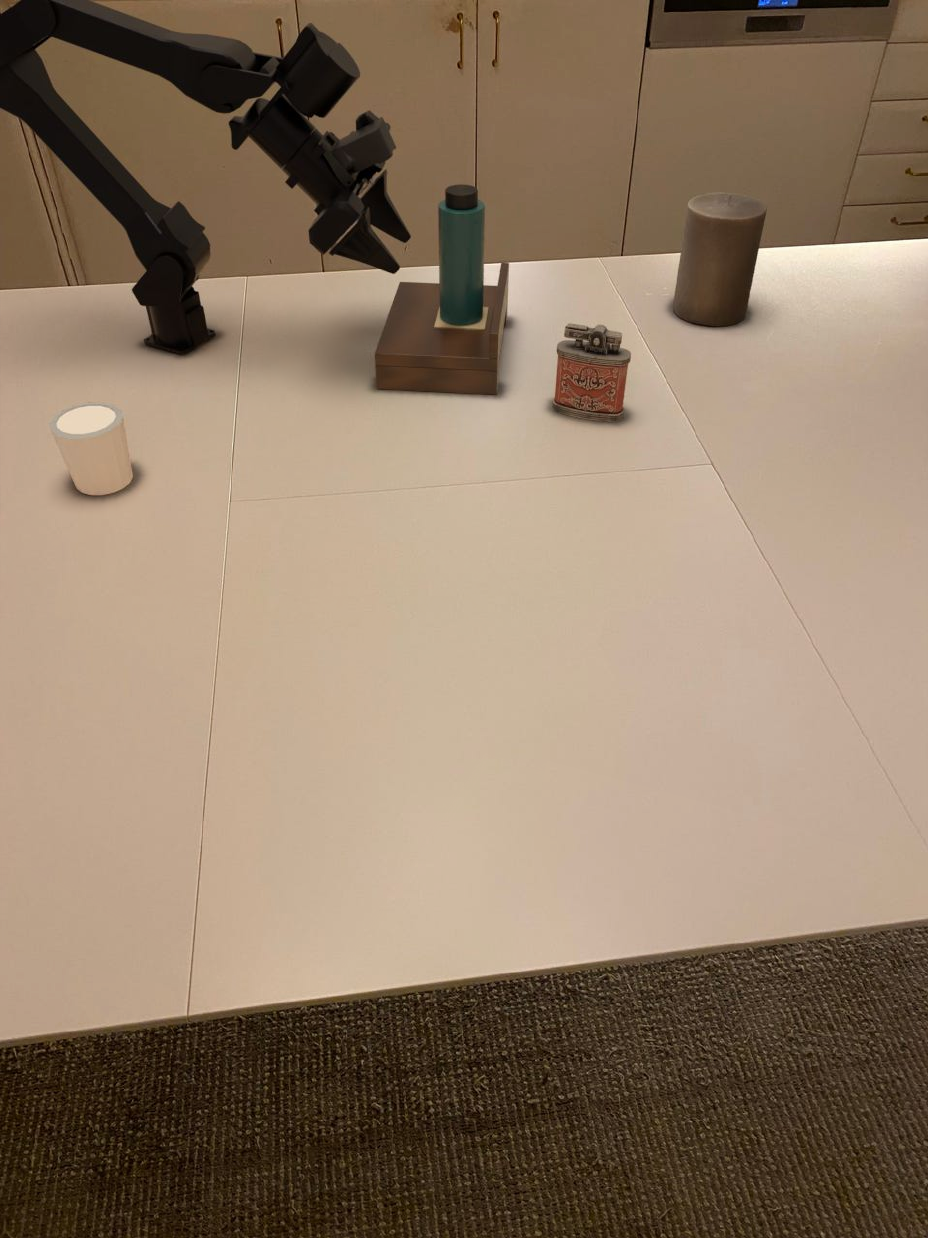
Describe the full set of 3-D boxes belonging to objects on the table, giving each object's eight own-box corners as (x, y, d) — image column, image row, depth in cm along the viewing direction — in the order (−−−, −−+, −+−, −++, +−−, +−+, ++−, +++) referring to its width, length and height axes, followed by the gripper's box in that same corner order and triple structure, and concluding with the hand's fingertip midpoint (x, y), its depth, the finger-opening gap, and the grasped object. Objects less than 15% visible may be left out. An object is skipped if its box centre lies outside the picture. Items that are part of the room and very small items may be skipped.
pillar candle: (758, 322, 124) (784, 203, 114) (688, 330, 122) (708, 210, 112) (726, 292, 131) (748, 177, 121) (660, 299, 129) (676, 183, 119)
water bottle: (452, 329, 112) (452, 200, 102) (432, 312, 115) (429, 186, 105) (491, 320, 114) (493, 192, 104) (469, 303, 117) (470, 178, 107)
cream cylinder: (120, 502, 94) (101, 441, 89) (56, 494, 95) (34, 433, 90) (150, 465, 99) (135, 404, 94) (89, 457, 100) (71, 397, 95)
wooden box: (376, 388, 111) (372, 327, 106) (401, 314, 125) (398, 258, 120) (496, 394, 110) (498, 333, 105) (507, 319, 125) (509, 262, 119)
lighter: (626, 410, 107) (637, 325, 101) (619, 424, 105) (630, 339, 98) (556, 398, 109) (563, 315, 102) (549, 412, 107) (554, 328, 100)
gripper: (329, 117, 92) (443, 237, 99) (362, 70, 106) (460, 178, 113) (260, 198, 98) (372, 306, 105) (299, 143, 112) (396, 242, 118)
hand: (403, 254), depth 110 cm, fingers open, 9 cm apart
